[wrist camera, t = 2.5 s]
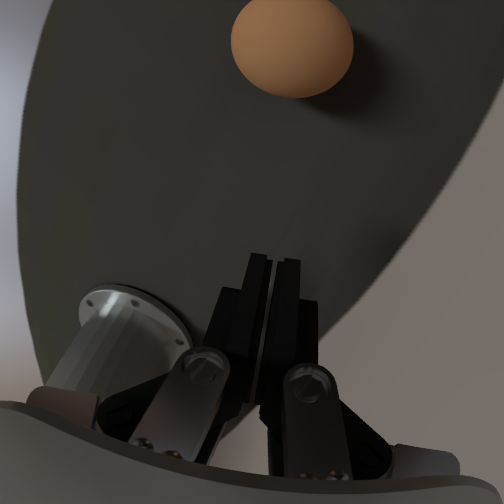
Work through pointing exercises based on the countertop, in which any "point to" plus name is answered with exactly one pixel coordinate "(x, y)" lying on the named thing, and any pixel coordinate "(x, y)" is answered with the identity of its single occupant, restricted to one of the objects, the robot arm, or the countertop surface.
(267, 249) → the countertop surface
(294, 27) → the ball
